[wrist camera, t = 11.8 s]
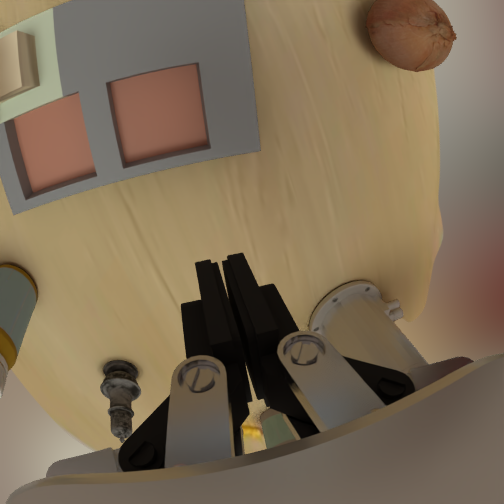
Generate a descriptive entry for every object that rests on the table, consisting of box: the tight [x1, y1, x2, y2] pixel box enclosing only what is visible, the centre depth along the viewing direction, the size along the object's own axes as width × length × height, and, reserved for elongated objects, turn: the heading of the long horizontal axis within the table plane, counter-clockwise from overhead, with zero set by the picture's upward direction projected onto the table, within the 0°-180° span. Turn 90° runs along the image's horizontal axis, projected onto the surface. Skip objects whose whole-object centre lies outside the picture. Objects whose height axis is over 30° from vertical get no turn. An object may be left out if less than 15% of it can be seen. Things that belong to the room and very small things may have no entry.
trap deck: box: [0, 0, 261, 215], centre depth 20 cm, size 25×18×6 cm
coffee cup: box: [260, 409, 297, 449], centre depth 52 cm, size 9×9×12 cm
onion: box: [366, 0, 456, 72], centre depth 22 cm, size 10×9×10 cm
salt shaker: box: [100, 360, 141, 443], centre depth 35 cm, size 6×6×12 cm
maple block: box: [0, 30, 40, 104], centre depth 15 cm, size 5×5×4 cm
